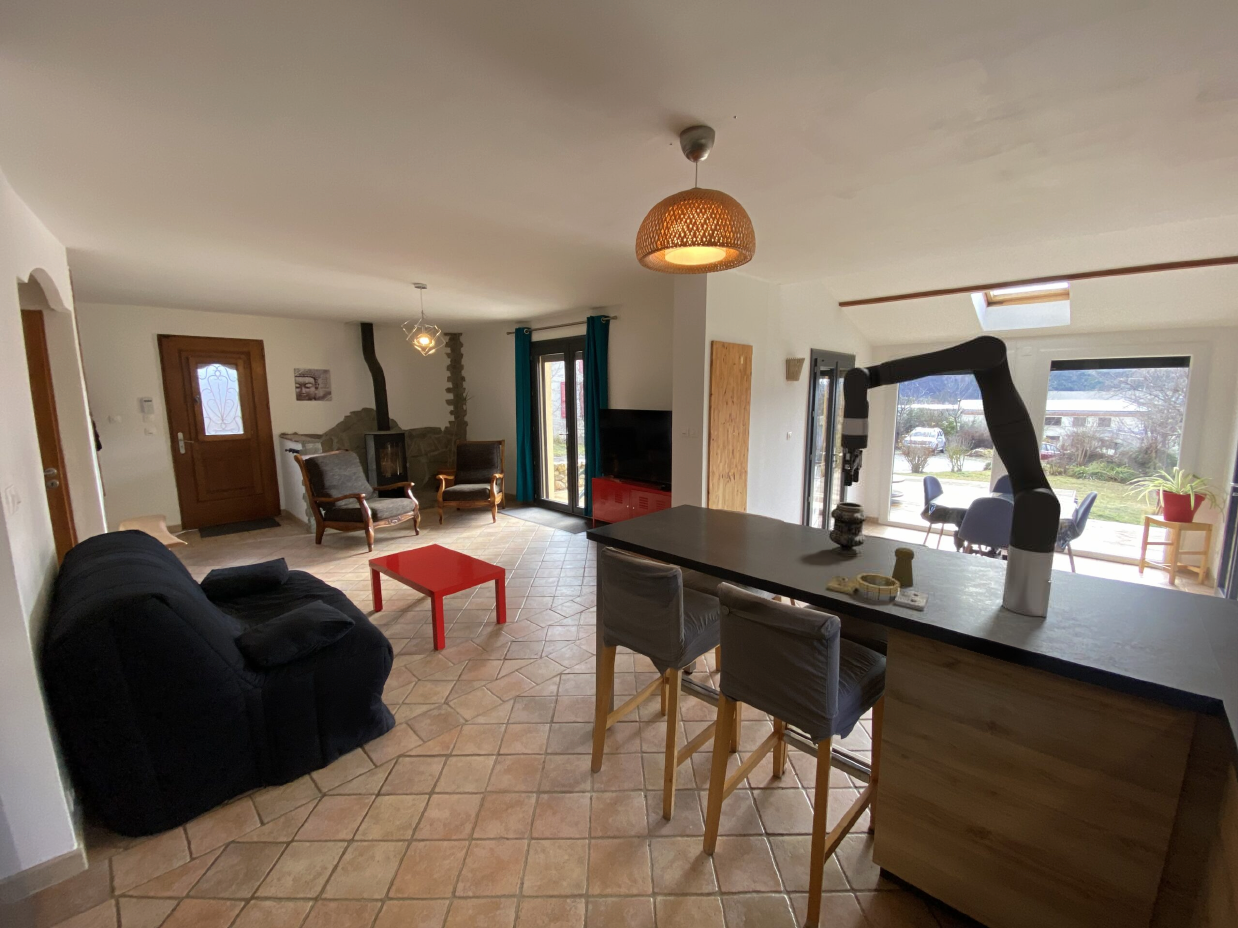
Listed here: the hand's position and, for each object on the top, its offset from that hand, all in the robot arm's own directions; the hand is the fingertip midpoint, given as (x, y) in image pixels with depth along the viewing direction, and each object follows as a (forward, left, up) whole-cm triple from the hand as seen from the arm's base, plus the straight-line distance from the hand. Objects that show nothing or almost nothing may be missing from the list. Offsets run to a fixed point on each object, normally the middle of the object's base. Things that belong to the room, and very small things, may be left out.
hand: (851, 484), depth 156 cm
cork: (-16, -1, -30) cm, 34 cm away
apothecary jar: (+5, -22, -30) cm, 37 cm away
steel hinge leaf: (-15, +12, -29) cm, 35 cm away
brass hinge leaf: (-8, +12, -29) cm, 33 cm away
